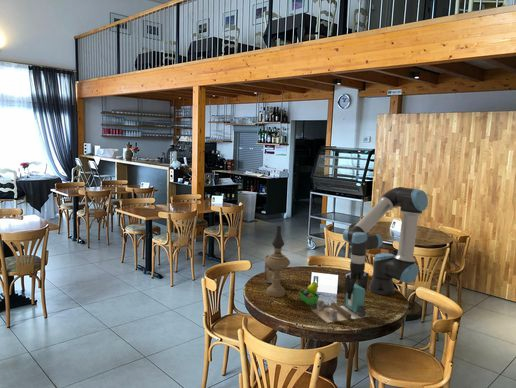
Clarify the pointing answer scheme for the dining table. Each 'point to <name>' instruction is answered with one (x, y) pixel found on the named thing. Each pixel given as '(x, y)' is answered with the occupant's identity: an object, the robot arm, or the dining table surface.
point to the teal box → (356, 298)
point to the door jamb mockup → (338, 312)
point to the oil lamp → (277, 265)
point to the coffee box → (268, 273)
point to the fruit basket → (310, 294)
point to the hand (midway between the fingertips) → (354, 304)
